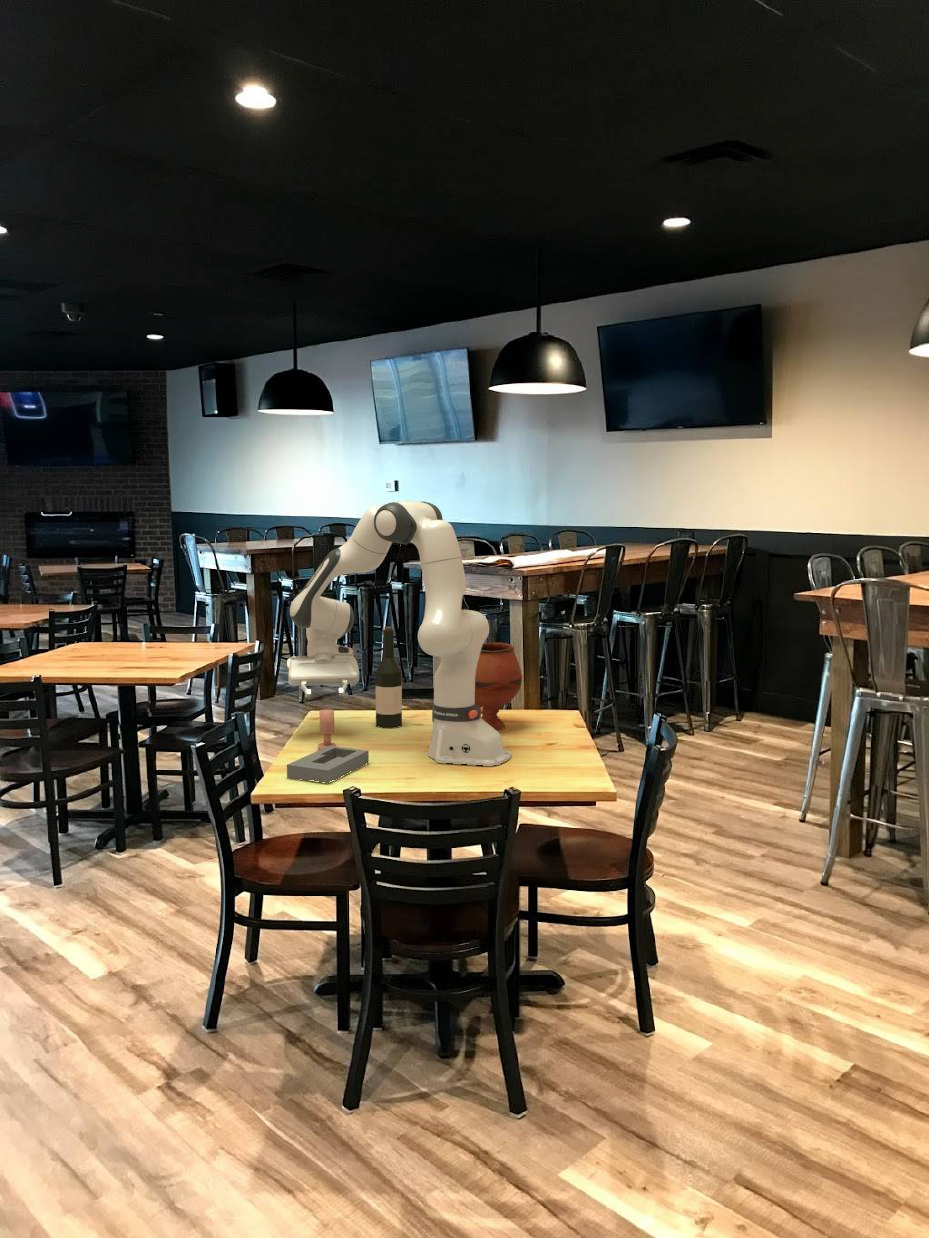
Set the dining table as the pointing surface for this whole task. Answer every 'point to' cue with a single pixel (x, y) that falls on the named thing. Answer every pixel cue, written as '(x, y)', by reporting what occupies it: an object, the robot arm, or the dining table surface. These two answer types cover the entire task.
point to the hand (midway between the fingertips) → (325, 695)
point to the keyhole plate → (327, 764)
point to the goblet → (496, 680)
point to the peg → (326, 727)
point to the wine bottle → (388, 685)
